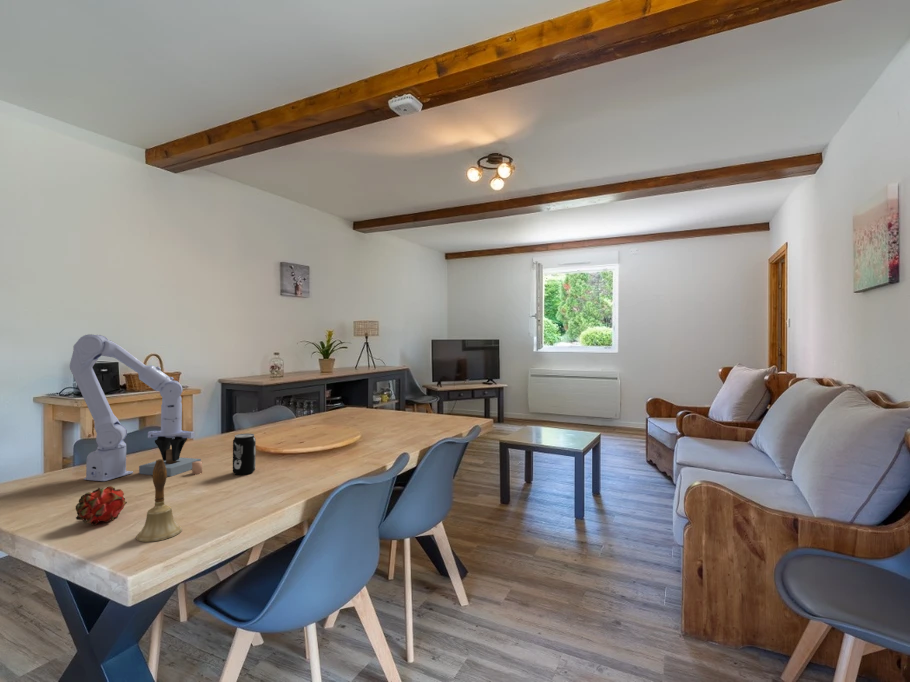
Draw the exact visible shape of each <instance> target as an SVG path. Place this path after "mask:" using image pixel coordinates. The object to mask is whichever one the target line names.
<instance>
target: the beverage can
mask: <svg viewBox="0 0 910 682" xmlns="http://www.w3.org/2000/svg"><path fill="white" fill-rule="evenodd" d="M256 442H257V441H256V437H255V434H254V433H238V434H234V438H233V440H232V473H233V474H235V476H247V475H250V474H253V473H254V472H255V470H256V450H257V449H256V448H257V445H256Z"/></svg>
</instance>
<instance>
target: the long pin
mask: <svg viewBox="0 0 910 682" xmlns="http://www.w3.org/2000/svg"><path fill="white" fill-rule="evenodd" d="M174 463H176V461H173V459H172V448H170V449H168V450H166V464H174Z"/></svg>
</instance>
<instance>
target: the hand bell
mask: <svg viewBox="0 0 910 682" xmlns="http://www.w3.org/2000/svg"><path fill="white" fill-rule="evenodd" d="M155 461H156V464H155V466H154V469H153V475H152V484H153V485H154V491H155V492H154V506H153V507H151V508H149V509H148V510H147V512H146V519H145V521H144V522H145V523H144V525H143V527H142V528H141V531H140V532H138V533H137V535H136V538H135V539H136V541H138V542H141V543H142V542H143V543H152V542H159V541H163V540H166V539H170V538H173V537H176V536H177V535H179V534H180V533H181V532H182V530H183V527H182V526H181V525H180V524H179V523H177V522H176V520H175V518H174V515H173V510H172V507H171V506H170V505H166V504H165V485H166V482H167V477H168V476H167V470H166V466H165V464H164V460H163V459H162V458H160V459H156V460H155Z"/></svg>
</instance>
